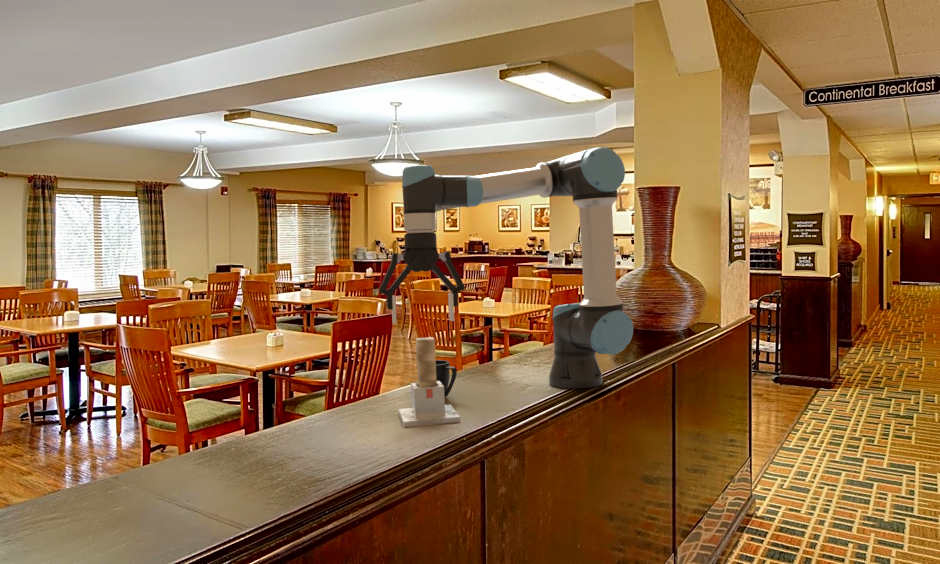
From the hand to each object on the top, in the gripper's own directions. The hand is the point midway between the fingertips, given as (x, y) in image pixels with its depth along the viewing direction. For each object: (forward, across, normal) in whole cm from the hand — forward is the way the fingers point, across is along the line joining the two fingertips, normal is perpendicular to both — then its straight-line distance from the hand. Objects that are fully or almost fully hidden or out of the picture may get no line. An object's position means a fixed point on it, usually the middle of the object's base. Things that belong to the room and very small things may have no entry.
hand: (423, 322), depth 159 cm
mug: (+23, -6, -20) cm, 31 cm away
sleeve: (+23, 0, 0) cm, 23 cm away
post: (+23, 0, 0) cm, 23 cm away
